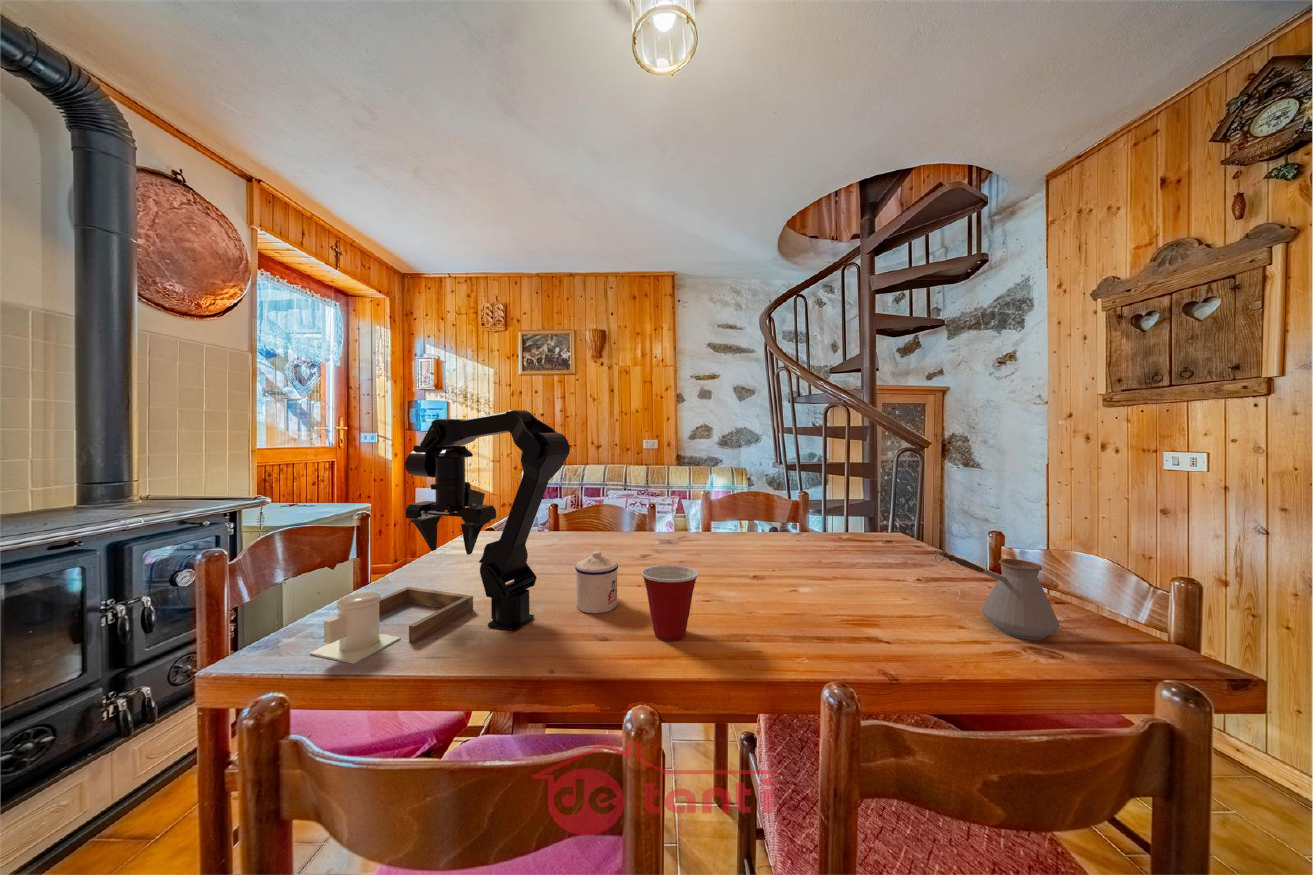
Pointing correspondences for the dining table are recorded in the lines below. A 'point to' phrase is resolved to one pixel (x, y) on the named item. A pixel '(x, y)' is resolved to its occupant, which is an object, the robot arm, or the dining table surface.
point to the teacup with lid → (596, 584)
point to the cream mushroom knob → (355, 622)
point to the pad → (355, 656)
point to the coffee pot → (1016, 599)
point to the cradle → (449, 603)
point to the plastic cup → (669, 599)
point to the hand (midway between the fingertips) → (451, 552)
